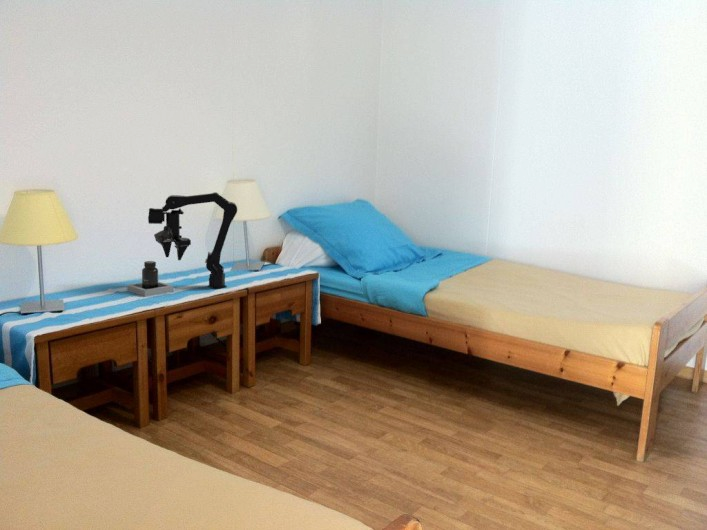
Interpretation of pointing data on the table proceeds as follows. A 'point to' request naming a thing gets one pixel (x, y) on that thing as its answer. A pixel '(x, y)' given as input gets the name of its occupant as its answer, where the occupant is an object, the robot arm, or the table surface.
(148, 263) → the supplement bottle
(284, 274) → the table surface
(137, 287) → the tray
